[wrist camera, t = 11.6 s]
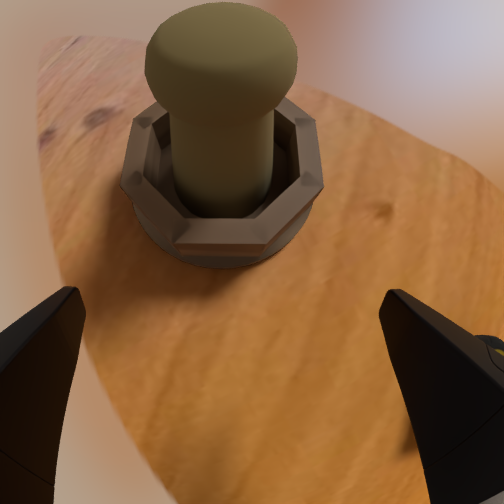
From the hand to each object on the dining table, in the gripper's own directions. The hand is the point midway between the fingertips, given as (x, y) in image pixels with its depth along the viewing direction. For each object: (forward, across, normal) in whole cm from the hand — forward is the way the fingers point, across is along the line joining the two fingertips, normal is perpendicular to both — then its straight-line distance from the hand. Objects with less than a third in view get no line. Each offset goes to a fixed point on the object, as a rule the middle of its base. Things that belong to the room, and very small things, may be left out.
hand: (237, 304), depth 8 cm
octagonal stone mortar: (+12, 0, 0) cm, 12 cm away
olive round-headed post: (+12, 0, 0) cm, 12 cm away
